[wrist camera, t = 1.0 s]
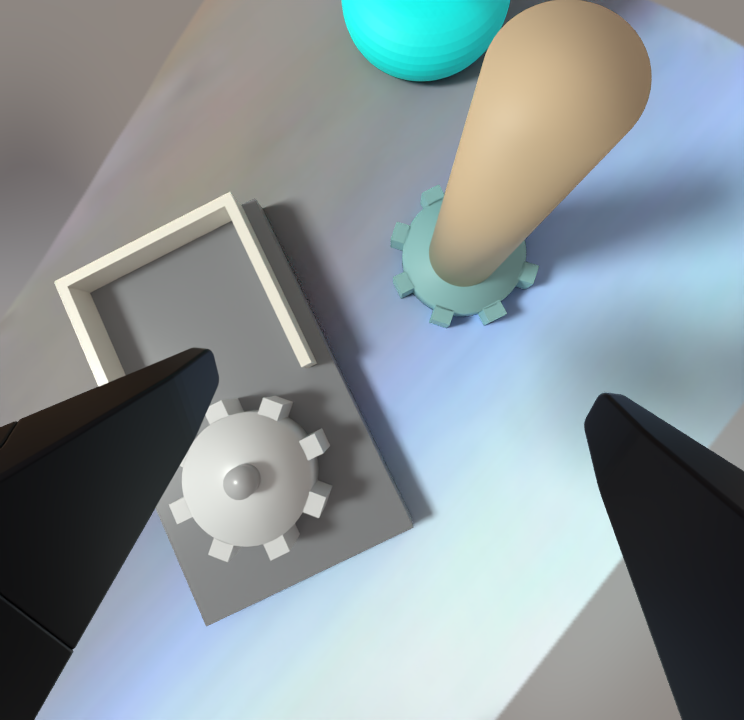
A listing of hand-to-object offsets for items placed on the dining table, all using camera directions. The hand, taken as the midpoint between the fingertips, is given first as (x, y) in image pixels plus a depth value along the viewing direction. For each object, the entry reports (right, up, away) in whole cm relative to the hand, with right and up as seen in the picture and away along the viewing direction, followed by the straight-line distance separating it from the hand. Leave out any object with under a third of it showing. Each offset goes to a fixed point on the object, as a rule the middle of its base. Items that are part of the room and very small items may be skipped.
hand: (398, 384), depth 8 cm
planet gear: (+5, +7, +13) cm, 16 cm away
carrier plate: (-9, -2, +13) cm, 16 cm away
